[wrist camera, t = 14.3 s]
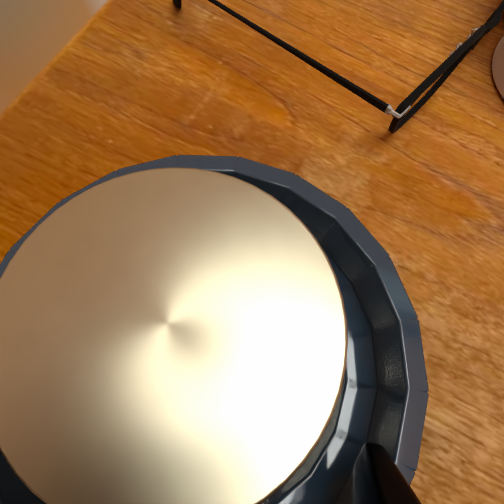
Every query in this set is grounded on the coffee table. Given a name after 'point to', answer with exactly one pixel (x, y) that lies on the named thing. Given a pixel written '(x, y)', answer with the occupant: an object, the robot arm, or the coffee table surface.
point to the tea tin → (168, 344)
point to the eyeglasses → (398, 114)
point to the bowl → (358, 330)
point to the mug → (499, 67)
